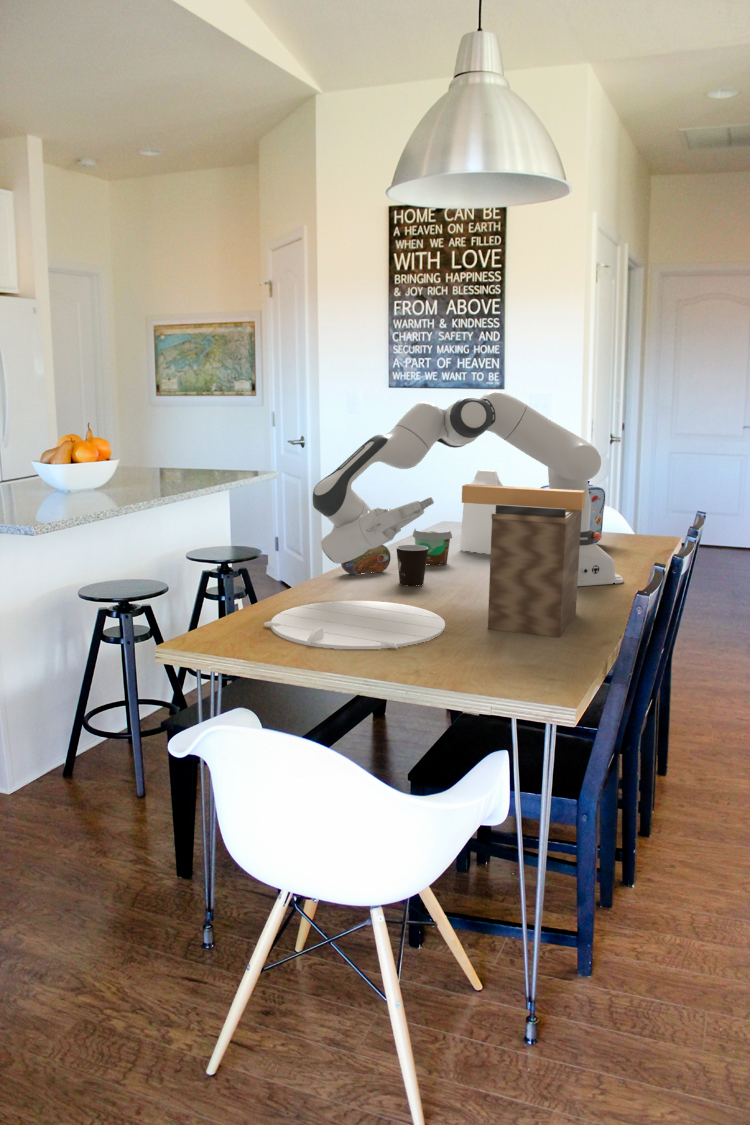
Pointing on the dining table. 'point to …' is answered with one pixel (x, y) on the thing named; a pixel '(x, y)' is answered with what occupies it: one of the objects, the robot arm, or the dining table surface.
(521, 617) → the walnut stand
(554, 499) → the orange block
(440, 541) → the food container
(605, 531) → the dining table surface
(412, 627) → the lazy susan
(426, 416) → the robot arm
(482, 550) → the milk
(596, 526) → the lunch box
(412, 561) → the coffee mug
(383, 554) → the tin
